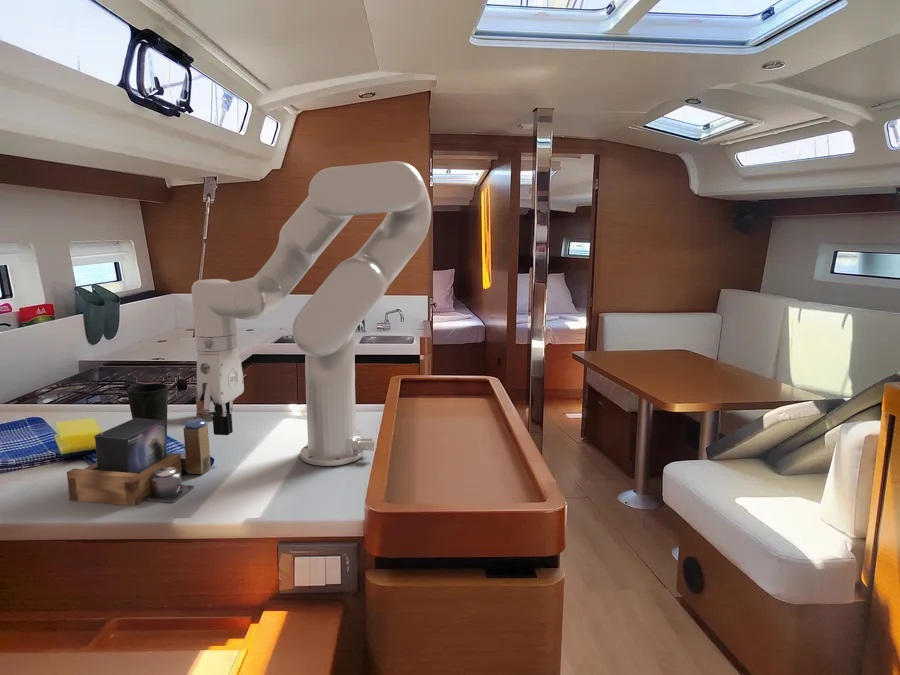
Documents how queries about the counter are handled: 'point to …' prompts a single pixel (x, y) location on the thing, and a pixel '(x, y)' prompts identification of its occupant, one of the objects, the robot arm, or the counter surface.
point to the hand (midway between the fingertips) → (223, 433)
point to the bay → (115, 483)
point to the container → (195, 447)
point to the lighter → (201, 409)
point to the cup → (149, 401)
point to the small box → (131, 446)
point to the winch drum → (167, 486)
